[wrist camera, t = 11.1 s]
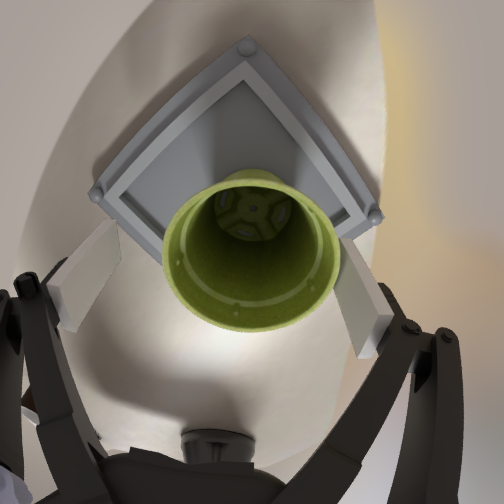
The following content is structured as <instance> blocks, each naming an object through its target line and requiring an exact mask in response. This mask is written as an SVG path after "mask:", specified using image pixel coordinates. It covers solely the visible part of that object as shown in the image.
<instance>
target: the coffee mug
mask: <svg viewBox="0 0 504 504" xmlns="http://www.w3.org/2000/svg"><path fill="white" fill-rule="evenodd" d="M21 413H22V414H23V415H24V416H25V417H27V418H28V419H29V420H31V421H32V422H34V423H35V424H37V425H39V418H38V415H37V411H36V407H35V403H34V399H33V395H32V391H31V386H29V388H28V389H27V391H26V392H25V394H24V395H23V397H22V398H21Z"/></svg>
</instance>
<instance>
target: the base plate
mask: <svg viewBox="0 0 504 504" xmlns="http://www.w3.org/2000/svg"><path fill="white" fill-rule="evenodd" d="M244 169H262V170H266V171H269V172H271V173H273V174H274V175H276V176H278V177H279V178H280V179H281V180H282V181H283V182H284V183H285V184H286V185H289V186H291V187H293V188H295V189H297V190H299V191H301V192H302V193H304V194H305V195H307V196H308V197H310V198H311V199H312V200H313V201H315V202H316V203H317V204H318V205H319V206H320V207H321V209H322V210H323V211H324V212H325V214H326V215H327V216H328V218H329V219H330V221H331V223H332V225H333V227H334V229H335V231H336V234H337V237H338V240H339V237H341V238H350V239H352V240H354V239H355V238H357V237H358V236H360V235H361V234H363V233H364V232H365V231H367V230H368V229H370V228H371V227H373V226H377V225H379V224H380V223H381V222H382V220H383V219H384V215H383V213H382V211H381V210H380V208H379V206H378V205H377V203H376V201H375V199H374V198H373V196H372V194H371V193H370V191H369V189H368V188H367V186H366V184H365V183H364V181H363V180H362V178H361V176H360V175H359V173H358V172H357V170H356V169H355V167H354V166H353V164H352V162H351V161H350V159H349V158H348V156H347V155H346V153H345V152H344V151H343V149H342V148H341V146H340V145H339V143H338V142H337V140H336V139H335V138H334V136H333V135H332V133H331V132H330V131H329V129H328V128H327V126H326V125H325V124H324V122H323V121H322V120H321V118H320V117H319V116H318V114H317V113H316V112H315V110H314V109H313V108H312V107H311V105H310V104H309V103H308V101H307V100H306V99H305V98H304V96H303V95H302V94H301V93H300V91H299V90H298V89H297V88H296V87H295V85H294V84H293V83H292V82H291V81H290V79H289V78H288V77H287V76H286V75H285V74H284V72H283V71H282V70H281V69H280V68H279V67H278V66H277V64H276V63H275V62H274V61H273V60H272V59H271V58H270V57H269V56H268V54H267V53H266V52H265V51H264V50H263V49H262V48H261V47H260V46H259V45H258V44H257V43H256V42H255V41H254V40H253V39H252V38H251V37H250V36H249V35H247V36H246V37H245V38H243V39H242V40H241V41H239V42H238V43H236V44H235V45H234V46H232V47H231V48H230V49H228V50H227V51H226V52H225V53H223V54H222V55H221V56H219V57H218V58H217V59H216V60H214V61H213V62H212V63H211V64H209V65H208V66H207V67H206V68H205V69H203V70H202V71H201V72H200V73H199V74H198V75H196V76H195V77H194V78H193V79H192V80H191V81H190V82H188V83H187V84H186V85H185V86H184V87H183V88H182V89H181V90H180V91H178V92H177V93H176V94H175V95H174V96H173V97H172V98H171V99H170V100H169V101H168V102H167V103H166V104H165V105H164V106H163V107H162V108H161V109H160V110H159V111H158V112H157V113H156V114H155V115H154V116H153V117H152V118H151V119H150V120H149V121H148V122H147V123H146V124H145V125H144V126H143V127H142V128H141V129H140V130H139V131H138V133H137V134H136V135H135V136H134V137H133V138H132V139H131V140H130V141H129V142H128V144H127V145H126V146H125V147H124V148H123V149H122V150H121V152H120V153H119V154H118V155H117V156H116V158H115V159H114V160H113V161H112V162H111V164H110V165H109V166H108V167H107V168H106V170H105V171H104V172H103V173H102V175H101V176H100V177H99V179H98V180H97V181H96V182H95V184H94V185H93V186H92V188H91V189H90V190H89V192H88V193H87V194H88V195H89V198H90V200H91V201H92V202H94V203H97V204H98V205H99V206H100V207H101V208H102V209H103V210H104V211H105V212H106V213H107V214H108V215H109V216H110V217H111V218H112V219H116V223H117V224H118V225H119V226H120V227H121V228H122V229H123V230H124V231H125V232H126V233H127V234H128V235H129V236H130V237H131V238H132V239H134V240H135V241H136V242H137V243H138V244H139V245H140V246H141V247H142V248H143V249H144V250H145V251H146V252H147V253H148V254H150V255H151V256H152V257H153V258H154V259H155V260H156V261H157V262H158V263H159V264H160V265H162V266H163V264H162V244H163V239H164V235H165V232H166V229H167V227H168V224H169V222H170V221H171V219H172V217H173V216H174V214H175V213H176V212H177V210H178V209H179V208H180V207H181V206H182V205H183V204H184V203H185V202H186V201H187V200H188V199H189V198H191V197H192V196H193V195H194V194H196V193H198V192H199V191H201V190H203V189H204V188H206V187H208V186H211V185H213V184H216V183H219V182H222V181H223V180H224V179H225V178H227V177H228V176H229V175H231V174H233V173H235V172H237V171H240V170H244ZM227 194H228V192H227V191H225V192H224V193H223V194H222V197H221V200H220V206H221V207H222V208H223V207H224V206H225V199H226V196H227ZM256 209H257V208H256V206H253V205H252V206H251V207H250V210H251V211H256ZM284 216H285V206H283V209H282V211H281V214H280V216H279V218H278V222H281V221H282V220H283V218H284ZM238 232H239V233H240V234H242V235H246V236H253V235H254V233H248V232H245V231H242V230H238Z"/></svg>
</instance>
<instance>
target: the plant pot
mask: <svg viewBox="0 0 504 504" xmlns="http://www.w3.org/2000/svg"><path fill="white" fill-rule="evenodd" d="M225 191H227V192H228V194H227V196H226V199H225V206H224V207H223V208H222V207H221V206H220V200H221V197H222V194H223V193H224V192H225ZM252 205H253V206H256V208H257V209H256V211H251V210H250V207H251V206H252ZM283 206H285V216H284V218H283V220H282V221H281V222H278V218H279V216H280V214H281V211H282V209H283ZM238 230H242V231H245V232H248V233H254V235H253V236H246V235H242V234H240V233H239V232H238ZM340 257H341V256H340V245H339V240H338V237H337V234H336V231H335V229H334V227H333V225H332V223H331V221H330V219H329V218H328V216H327V215H326V214H325V212H324V211H323V210H322V209H321V207H320V206H319V205H318V204H317V203H316V202H315V201H313V200H312V199H311V198H310V197H308V196H307V195H305V194H304V193H302V192H301V191H299V190H297V189H295V188H293V187H291V186H289V185H286V184H285V183H284V182H283V181H282V180H281V179H280V178H279V177H278V176H276V175H274V174H273V173H271V172H269V171H266V170H262V169H244V170H240V171H237V172H235V173H233V174H231V175H229V176H228V177H227V178H225V179H224V180H223V181H222V182H219V183H216V184H213V185H211V186H208V187H206V188H204V189H203V190H201V191H199V192H198V193H196V194H194V195H193V196H192V197H191V198H189V199H188V200H187V201H186V202H185V203H184V204H183V205H182V206H181V207H180V208H179V209H178V210H177V212H176V213H175V214H174V216H173V217H172V219H171V221H170V222H169V224H168V227H167V229H166V232H165V235H164V239H163V244H162V264H163V270H164V273H165V276H166V279H167V281H168V284H169V286H170V288H171V290H172V291H173V293H174V294H175V295H176V297H177V298H178V300H179V301H180V302H181V303H182V305H184V306H185V307H186V308H187V309H188V310H189V311H190V312H192V313H193V314H194V315H196V316H197V317H199V318H201V319H202V320H204V321H206V322H208V323H210V324H212V325H215V326H217V327H220V328H223V329H227V330H232V331H238V332H265V331H272V330H276V329H279V328H283V327H286V326H289V325H291V324H294V323H296V322H298V321H300V320H301V319H303V318H305V317H306V316H308V315H309V314H311V313H312V312H313V311H315V310H316V309H317V308H318V307H319V306H320V305H321V304H322V303H323V301H324V300H325V299H326V298H327V297H328V295H329V294H330V292H331V290H332V289H333V287H334V284H335V281H336V279H337V276H338V273H339V269H340Z"/></svg>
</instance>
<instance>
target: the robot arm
mask: <svg viewBox="0 0 504 504" xmlns="http://www.w3.org/2000/svg"><path fill="white" fill-rule="evenodd" d="M339 245H340V256H341V257H340V269H339V273H338V276H337V279H336V281H335V284H334V287H333V289H334V292H335V295H336V297H337V300H338V303H339V306H340V309H341V312H342V315H343V317H344V320H345V323H346V326H347V329H348V332H349V335H350V338H351V341H352V344H353V348H354V350H355V354H356V357H357V359H363V358H372V356H373V354H374V353H375V351H376V350H377V352H378V355H379V357H378V358H377V360H376V362H375V364H374V365H373V367H372V368H371V370H370V372H369V374H368V375H367V377H366V379H365V381H364V382H363V384H362V385H361V387H360V389H359V390H358V392H357V393H356V395H355V396H354V398H353V399H352V401H351V403H350V404H349V406H348V407H347V409H346V410H345V411H344V413H343V414H342V416H341V417H340V419H339V420H338V421H337V423H336V424H335V426H334V427H333V428H332V430H331V431H330V433H329V434H328V435H327V437H326V438H325V439H324V440H323V442H322V443H321V444H320V446H319V447H318V448H317V449H316V451H315V452H314V453H313V455H312V456H311V457H310V458H309V459H308V461H307V462H306V463H305V464H304V465H303V467H302V468H301V469H300V470H299V471H298V472H297V473H296V475H295V476H294V477H293V478H292V479H291V480H290V481H289V482H288V483H287V484H285V483H283V482H282V481H281V480H280V479H278V478H276V477H275V476H273V475H271V474H269V473H267V472H264V471H261V470H258V469H254V462H251V459H252V457H253V456H254V454H255V443H254V441H253V440H252V439H250V438H249V437H247V436H244V435H241V434H237V433H233V432H228V431H220V430H195V431H190V432H187V433H185V434H184V435H183V436H182V440H181V449H182V451H183V457H184V462H185V463H183V462H181V461H178V460H175V459H173V458H170V457H168V456H166V455H163V454H161V453H158V452H153V451H148V450H143V449H139V448H134V447H130V451H129V453H121V454H116V455H112V456H108V454H107V452H106V451H105V450H104V448H103V447H102V445H101V443H100V441H99V439H98V437H97V435H96V433H95V431H94V429H93V427H92V424H91V422H90V420H89V418H88V415H87V413H86V411H85V408H84V406H83V403H82V401H81V398H80V396H79V393H78V390H77V388H76V385H75V382H74V379H73V377H72V374H71V371H70V368H69V365H68V362H67V358H66V355H65V352H64V348H63V345H62V341H61V338H60V334H59V331H58V329H57V325H58V323H59V322H61V325H62V327H63V329H64V330H66V331H70V332H75V333H76V332H77V330H78V328H79V327H80V325H81V323H82V321H83V320H84V318H85V316H86V315H87V313H88V311H89V310H90V308H91V306H92V305H93V303H94V301H95V300H96V298H97V296H98V295H99V293H100V291H101V290H102V288H103V287H104V285H105V284H106V282H107V280H108V279H109V277H110V276H111V274H112V273H113V271H114V270H115V268H116V267H117V265H118V264H119V262H120V261H121V253H120V246H119V239H118V231H117V223H116V219H105V220H104V221H103V222H102V223H101V224H100V225H99V226H98V227H97V228H96V229H95V230H94V231H93V232H92V233H91V234H90V235H89V236H88V237H87V238H86V239H85V240H84V241H83V242H82V243H81V245H80V246H79V247H78V248H77V249H76V250H75V251H74V252H73V253H72V254H71V256H70V257H66V258H64V259H63V260H61V261H59V262H58V263H57V265H56V266H55V267H54V269H52V270H51V271H50V273H49V274H48V275H47V276H46V277H45V278H44V280H43V281H42V282H41V283H39V280H38V277H37V275H36V273H34V272H25V273H23V274H21V275H19V276H18V277H17V278H16V279H15V280H14V283H13V284H14V287H15V290H16V292H17V295H18V297H12V298H10V295H9V293H8V291H7V290H5V289H1V290H0V504H31V502H32V500H33V497H32V494H31V493H30V491H29V490H28V488H27V485H26V484H25V482H24V458H23V447H22V427H21V395H22V376H23V363H24V354H25V360H26V366H27V371H28V377H29V382H30V386H31V391H32V395H33V399H34V403H35V407H36V411H37V415H38V418H39V425H36V430H37V435H38V438H39V441H40V444H41V447H42V450H43V453H44V456H45V458H46V461H47V464H48V466H49V469H50V471H51V474H52V476H53V479H54V481H55V483H56V485H57V488H58V490H56V491H54V492H53V493H51V494H50V495H48V496H46V497H45V498H43V499H42V500H40V501H38V502H37V503H35V504H337V503H338V502H339V501H340V499H341V498H342V497H343V495H344V494H345V492H346V491H347V489H348V488H349V487H350V485H351V484H352V482H353V481H354V479H355V478H356V476H357V475H358V473H359V471H360V469H361V467H362V464H361V463H362V460H363V459H364V457H365V455H366V454H367V452H368V450H369V449H370V447H371V445H372V444H373V442H374V440H375V438H376V436H377V435H378V433H379V431H380V429H381V427H382V425H383V424H384V422H385V420H386V418H387V416H388V414H389V412H390V410H391V408H392V406H393V404H394V401H395V400H396V397H397V395H398V393H399V391H400V389H401V387H402V384H403V382H404V380H405V377H406V375H407V373H411V384H410V394H409V402H408V410H407V416H406V423H405V429H404V434H403V440H402V445H401V450H400V455H399V459H398V464H397V468H396V472H395V476H394V480H393V483H392V487H391V491H390V494H389V497H388V501H387V504H459V503H458V496H457V494H458V488H459V481H460V472H461V464H462V450H463V430H464V403H463V380H462V367H461V359H460V358H461V357H460V348H459V341H458V337H457V336H456V335H455V333H454V332H453V331H452V330H450V329H448V328H444V327H441V328H438V330H437V331H436V332H435V334H430V333H425V332H422V330H421V327H420V326H419V325H418V324H417V323H416V322H414V321H413V320H410V319H407V318H406V316H405V315H404V313H403V311H402V309H401V308H400V306H399V304H398V302H397V300H396V299H395V297H394V295H393V294H392V292H391V290H390V289H389V288H388V287H387V286H386V285H385V284H384V283H377V282H376V280H375V278H374V276H373V275H372V273H371V271H370V269H369V268H368V266H367V264H366V262H365V261H364V259H363V257H362V256H361V254H360V252H359V251H358V249H357V247H356V246H355V244H354V242H353V241H352V239H350V238H341V237H339Z"/></svg>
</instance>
